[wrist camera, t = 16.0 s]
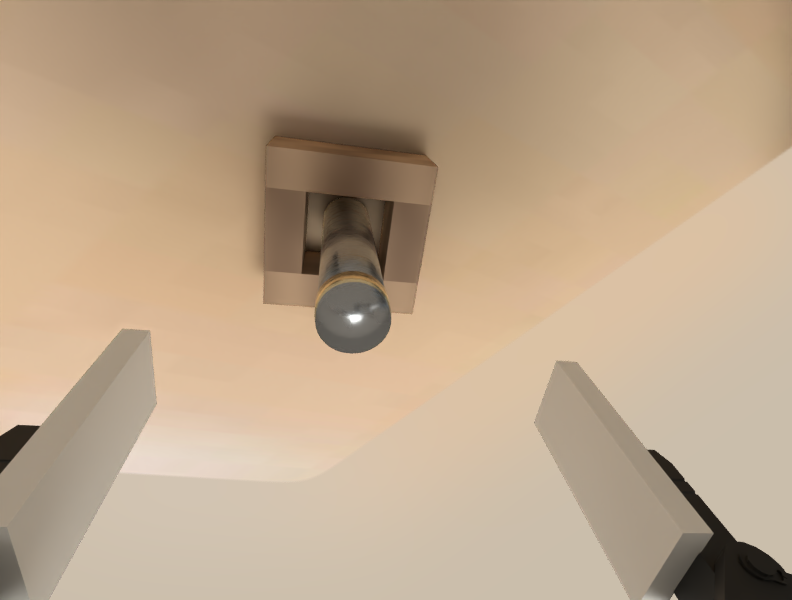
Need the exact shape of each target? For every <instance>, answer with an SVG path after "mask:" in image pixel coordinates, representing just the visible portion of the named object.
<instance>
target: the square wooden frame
mask: <svg viewBox="0 0 792 600" xmlns="http://www.w3.org/2000/svg"><path fill="white" fill-rule="evenodd" d="M437 171H438V167H437V166H436V165H435V164H434V163H433V162H432V161H431V160H430V159H429V158H428V157H427V156H426V155H419V154H411V153H403V152H395V151H388V150H380V149H372V148H364V147H357V146H349V145H341V144H333V143H326V142H318V141H310V140H303V139H295V138H287V137H279V136H275V137H274V138H273V139H272V140H271V141H270V142H269V143H268V144H267V145H266V182H265V238H264V295H263V304H276V305H290V306H304V307H315V303H316V296H317V293H318V281H319V268H320V255H321V252H314V251H305V249H306V232H307V215H308V197H309V192H313V193H322V194H331V195H340V196H349V197H358V198H367V199H376V200H385V208H384V216H383V223H382V231H381V239H380V246H379V254H378V260H379V265H380V269H381V274H382V278H383V283H384V287H385V290H386V292H387V295H388V299H389V304H390V308H391V313H403V314H412V313H413V308H414V302H415V296H416V291H417V285H418V279H419V274H420V268H421V262H422V257H423V251H424V245H425V239H426V234H427V228H428V222H429V217H430V211H431V205H432V200H433V194H434V188H435V183H436V177H437Z"/></svg>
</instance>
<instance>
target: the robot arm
mask: <svg viewBox="0 0 792 600" xmlns="http://www.w3.org/2000/svg"><path fill="white" fill-rule="evenodd" d="M156 404H157V402H156V391H155V380H154V369H153V358H152V347H151V336H150V331H146V330H133V329H122V330H121V331H120V332H119V333H118V335H117V336H116V337H115V338H114V339H113V341H112V342H111V343H110V344H109V345H108V346H107V348H106V349H105V350H104V351H103V352H102V354H101V355H100V356H99V357H98V358H97V360H96V361H95V362H94V363H93V364H92V365H91V367H90V368H89V369H88V370H87V371H86V373H85V374H84V375H83V376H82V377H81V379H80V380H79V381H78V382H77V383H76V385H75V386H74V387H73V388H72V389H71V390H70V392H69V393H68V394H67V395H66V396H65V398H64V399H63V400H62V401H61V402H60V404H59V405H58V406H57V407H56V408H55V410H54V411H53V412H52V413H51V414H50V415H49V417H48V418H47V419H46V420H45V421H44V423H43V424H42V425H41V426H29V425H17V426H16V427H14V428H12V429H11V430H9V431H8V432H6V433H4V434H3V435H1V436H0V600H49V598H50V597H51V595H52V593H53V591H54V589H55V587H56V586H57V584H58V582H59V580H60V578H61V576H62V575H63V573H64V571H65V569H66V568H67V566H68V564H69V562H70V560H71V558H72V557H73V555H74V553H75V551H76V549H77V548H78V546H79V544H80V542H81V540H82V538H83V537H84V535H85V533H86V531H87V529H88V527H89V526H90V524H91V522H92V520H93V519H94V517H95V515H96V513H97V511H98V509H99V508H100V506H101V504H102V502H103V500H104V499H105V497H106V495H107V493H108V491H109V489H110V488H111V486H112V484H113V482H114V480H115V479H116V477H117V475H118V473H119V471H120V469H121V468H122V466H123V464H124V462H125V460H126V459H127V457H128V455H129V453H130V451H131V449H132V448H133V446H134V444H135V442H136V440H137V439H138V437H139V435H140V433H141V431H142V430H143V428H144V426H145V424H146V422H147V420H148V419H149V417H150V415H151V413H152V411H153V410H154V408H155V406H156ZM534 423H535V425H536V427H537V429H538V431H539V432H540V434H541V436H542V438H543V440H544V442H545V443H546V445H547V447H548V449H549V451H550V453H551V455H552V456H553V458H554V460H555V462H556V464H557V465H558V467H559V469H560V471H561V473H562V475H563V477H564V478H565V480H566V482H567V484H568V486H569V488H570V489H571V491H572V493H573V495H574V497H575V499H576V501H577V502H578V504H579V506H580V508H581V510H582V512H583V514H584V515H585V517H586V519H587V521H588V523H589V525H590V527H591V528H592V530H593V532H594V534H595V536H596V538H597V539H598V541H599V543H600V545H601V547H602V549H603V550H604V552H605V554H606V556H607V558H608V560H609V561H610V563H611V565H612V567H613V569H614V571H615V573H616V574H617V576H618V578H619V580H620V582H621V584H622V586H623V587H624V589H625V591H626V593H627V595H628V597H629V598H630V600H670V598H671V597H672V595H673V594H674V593H675V595H676V597H677V598H678V600H792V574H789V573H786V572H785V571H784V569H783V568H782V567H781V566H780V565H779V564H778V563H777V562H776V561H775V560H774V559H773V558H771V557H770V556H769V555H768V554H766V553H764V552H763V551H761V550H760V549H758V548H756V547H754V546H752V545H749V544H746V543H744V542H737V541H736V540H735V539H734V538H733V536H732V535H731V534H730V533H729V532H728V531H727V529H726V528H725V527H724V526H723V524H722V523H721V522H720V521H719V520H718V518H717V517H716V516H715V515H714V514H713V512H712V511H711V510H710V509H709V508H708V506H707V505H706V504H705V503H704V502H703V500H702V499H701V498H700V497H699V496H698V495H696V494H695V491H694V490H693V488H692V487H691V486H690V485H689V484H688V483H687V482H685V481H684V478H683V476H682V475H681V474H680V473H679V472H678V470H677V469H676V468H675V467H674V466H673V464H672V463H670V462H669V461H668V460H666V459H665V458H664V457H663V456H661V455H660V454H659V453H657V452H656V451H655V450H647V449H646V448H645V447H644V445H643V444H642V443H641V442H640V441H639V439H638V438H637V437H636V435H635V434H634V433H633V432H632V430H630V428H629V427H628V425H627V424H626V423H625V422H624V420H623V419H622V418H621V417H620V415H619V414H618V413H617V412H616V410H615V409H614V408H613V407H612V405H611V404H610V403H609V402H608V400H607V399H606V398H605V397H604V395H603V394H602V393H601V392H600V390H598V388H597V387H596V385H595V384H594V383H593V382H592V380H591V379H590V378H589V377H588V376H587V374H586V373H585V372H584V370H583V369H582V368H581V367H580V365H579V364H578V363H577V362H568V361H556V364H555V366H554V369H553V372H552V374H551V378H550V380H549V383H548V386H547V389H546V391H545V394H544V397H543V399H542V402H541V405H540V408H539V410H538V413H537V416H536V419H535V422H534Z"/></svg>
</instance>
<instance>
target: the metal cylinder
mask: <svg viewBox="0 0 792 600" xmlns="http://www.w3.org/2000/svg"><path fill="white" fill-rule="evenodd" d="M315 323H316V329H317V332H318V334H319V336H320V338H321V339H322V340H323V341H324V342H325V343H326V344H327V345H328V346H329V347H331V348H333V349H335V350H337V351H340V352H344V353H361V352H365V351H368V350H370V349H372V348H374V347H376V346H377V345H378V344H379V343H381V342H382V341H383V339H384V338H385V337H386V335H387V334H388V331H389V329H390V325H391V308H390V304H389V299H388V295H387V292H386V290H385V287H384V283H383V278H382V274H381V269H380V265H379V260H378V256H377V252H376V247H375V243H374V238H373V234H372V229H371V225H370V221H369V216H368V212H367V210H366V208H365V206H364V205H363V204H362V203H361V202H360V201H358V200H356V199H354V198H351V197H341V198H337V199H335V200H333V201H332V202H331V203H330V204H329V205H328V206H327V207H326V209H325V212H324V217H323V230H322V242H321V255H320V268H319V281H318V293H317V296H316V303H315Z"/></svg>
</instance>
